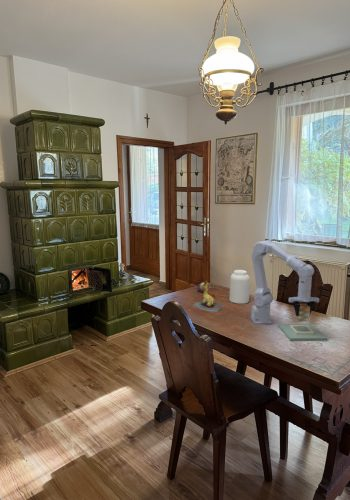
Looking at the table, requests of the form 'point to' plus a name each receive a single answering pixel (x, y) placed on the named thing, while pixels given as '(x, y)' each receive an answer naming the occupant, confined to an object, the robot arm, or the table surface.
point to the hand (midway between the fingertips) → (302, 315)
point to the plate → (302, 332)
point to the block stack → (303, 313)
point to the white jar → (239, 287)
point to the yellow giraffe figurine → (207, 300)
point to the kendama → (204, 290)
